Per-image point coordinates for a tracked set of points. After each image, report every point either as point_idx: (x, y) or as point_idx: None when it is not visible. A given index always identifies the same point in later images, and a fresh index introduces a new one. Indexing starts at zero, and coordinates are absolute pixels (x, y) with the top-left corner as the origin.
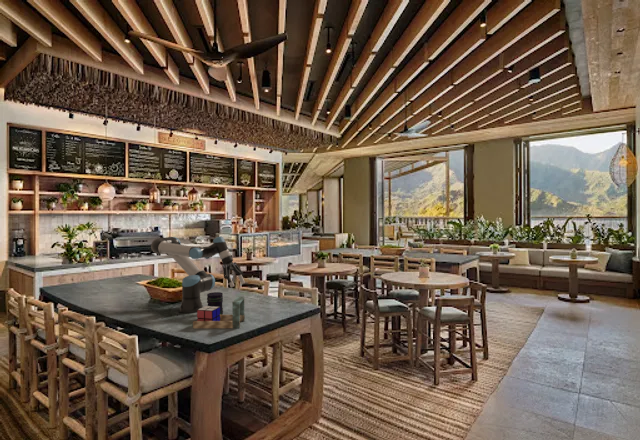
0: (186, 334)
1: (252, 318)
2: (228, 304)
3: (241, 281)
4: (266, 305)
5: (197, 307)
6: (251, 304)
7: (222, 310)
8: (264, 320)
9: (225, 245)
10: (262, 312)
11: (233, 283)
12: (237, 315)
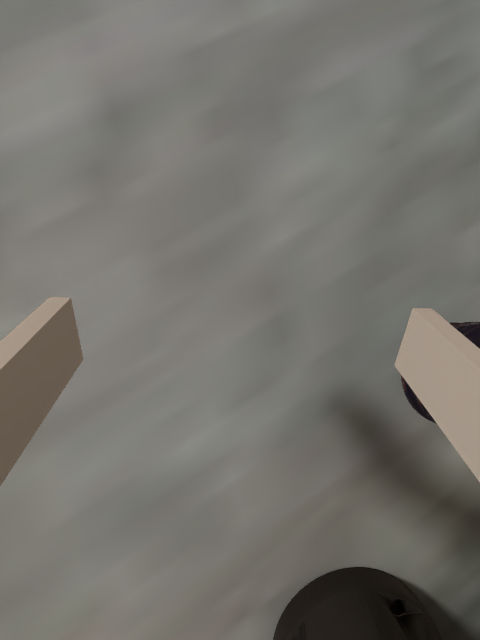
0: None
1: (411, 104)
2: (100, 493)
3: (56, 372)
4: (30, 170)
5: (387, 604)
6: None
7: None
8: (431, 2)
9: None
10: (246, 105)
11: (437, 331)
12: None
